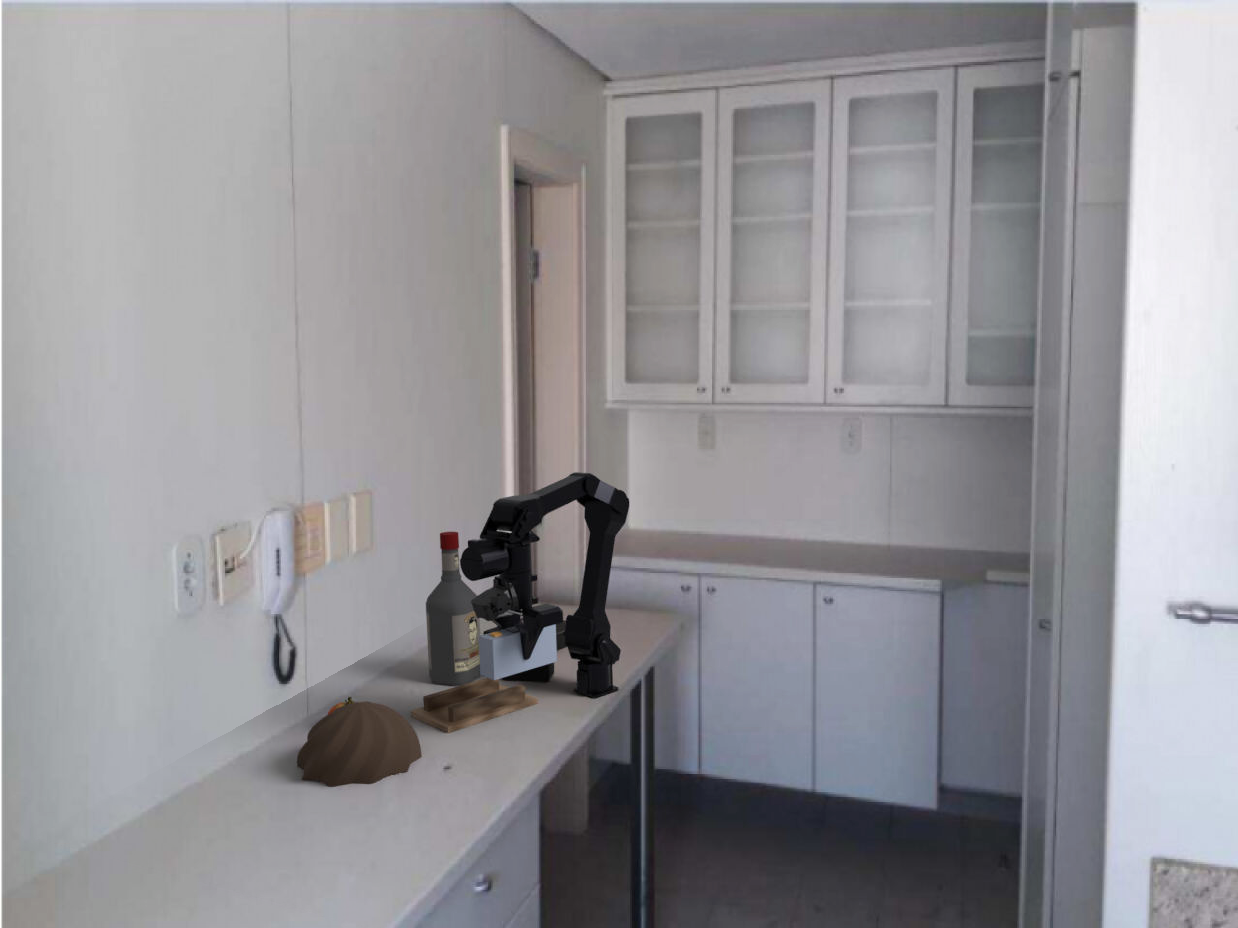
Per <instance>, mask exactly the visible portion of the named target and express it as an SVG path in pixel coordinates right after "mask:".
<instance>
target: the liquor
mask: <svg viewBox="0 0 1238 928" xmlns="http://www.w3.org/2000/svg"><path fill="white" fill-rule="evenodd" d="M459 537H460V536H459V532H458V531H443V532H440V533H439V544H440V545H439V547H440V550H441V551H440V552H441V553H440V554H441V577H440V581H439V582H438V584H437V586H435V587H434V589H433V590H432V591H431V592H430V594H429V595H428V597H427V599H426V602H425V614H426V615H425V617H426V637H427V638H426V639H427V653H428V655H427V656H428V659H427V661H428V675H429V678H430V679H431V682H432V683H434V684H435V685H443V686H452V687H457V686H460V685H464V684H467V683H471V682H474V681H476V680H477V679H479V678H480V677H481V674H480V652H479V636H481V628H480V627H481V625H480V624H481V623H480V622H481V621H480V618H477V617H476V614H475V612H474V609H473V606H472V604H471V600H472V599H474V598H475V597H477V596H478V595H477V594H476V592H474V591H473V590H472V589H471V588H470V586H468V585H467V583H465V582H464V581H463V580H462V575H461V572H460V570H461V569H460V558H459V557H460V555H459V548H460V543H459V542H460V541H459V539H460V538H459Z"/></svg>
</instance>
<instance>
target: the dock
mask: <svg viewBox="0 0 1238 928" xmlns="http://www.w3.org/2000/svg"><path fill="white" fill-rule="evenodd" d="M525 688H526V687H525V685H521V684H518V685H514V686H510V687H509V686H505V685H503V684H500V679H497V680H492V679H490V678H487V677H484V678H482V679H478V680H477V679H476V680H474V681H472V682H470V683H467V684H464V685H459V686H453V687H451V688H447V689H443V690H440V691H437V692H434V693H431V694H427V695H424V696H423V699H422V701H423V707H419V708H416V709H412V710H410V717H412V718H414V719H416V720H419V721H421V722H422V723H426V724H427V725H430V726H432V727H434V728H436V729H439V730H441V731H443V732H445V733H447V734H448V733H449V734H450V733H452V732H456V731H458V730H461V729H465V728H467V727H470V726H473V725H476V724H480V723H483V722H486V721H488V720H492V719H495V718H498V717H500V716H503V715H508V714H509V712H510V713H513V712H516V711H519V710H522V709H526V708H528V707H530V706H531V707H532V706H534V705H537V704H538V703H539V699H538V697H537V696H533V695H531V694H527V693H525V692H526V691H525ZM512 711H513V712H512ZM497 716H498V717H497Z"/></svg>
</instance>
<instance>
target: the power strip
mask: <svg viewBox="0 0 1238 928" xmlns="http://www.w3.org/2000/svg"><path fill="white" fill-rule="evenodd" d="M479 652H480V674H481V675H480V677H481V676H482V677H484V678H490V679H492V680H497V679H499V680H501V679H502V678H503V677H507V676H510V675H513V674H517V673H520V672H523V671H527V670H530V669H533V668H537V667H540V666H543V665H546V664H550V663H553V662H554V663H556V662H558V656H557V655H558V653H557V652H558V651H557V647H556V624H555V625H551V626H548V627H544V629H543V631H542V632H541V634H540V636H539V638H538V641H537V643H536V645H535V648H534V650H533V652H532V654H531V657H530V659H527V660H524V658H523V653H522V644H521V635H520V631H519V630H518V629H517V628H516V627H511V628H507V629H504V630H500V631H496V632H492V633H488V634H484V635H483V634H482V635H481V634H480V636H479Z"/></svg>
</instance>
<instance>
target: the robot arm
mask: <svg viewBox="0 0 1238 928" xmlns="http://www.w3.org/2000/svg"><path fill="white" fill-rule="evenodd" d="M574 501H576V502H577V503H578V504H580V505H581V506H582V507H583V508H584V513H583V514H584V518H583V519H584V522H585V523H586V526H587V529H588V532H589V534H588V535H589V536H588V537H589V538H588V542H587V543H588V544H587V549H586V550H587V551H586V558H585V565H584V571H583V579H582V585H581V591H580V599H579V605H578V607H577V609H576V610H575V611H574V613H573V615H572V614H568V615H567V616H566V618H565V621H566V628H565V631H564V634H563V636H565V645H566V646H567V647H566V648H567V650H568V653H569V657H570V659H571V660H577V670H576V686H575V687H573V689H572V691H573V692H576V693H579V694H582V695H584V696H588V697H591V698H593V699H595V698H598V697H602V696H604V695H608V694H610V693H614V692H617V691H619V690H620V689H619V686H616V685H614V684H613V683H614V682H613V680H614V676H613V673H614V672H613V671H614V670H613V665H615V664H616V662H619V661H620V657H621V651H622V650H621V648H620V647H619V646H618V645H617V644H616V643H615V642H614V641H613V640H612V638H611V627H612V626H611V624H610V621H609V617H608V616H607V612H606V603H607V597H608V591H609V583H610V577H611V568H612V561H613V556H614V547H615V542H616V537H617V535H618V533H619V532H620V531H621V529H622V528H623V527H624V525H625V524H626V521H627V517H628V513H629V509H630V499H629V497H628V495H627V494H626V492H625V491H623V490H621V489H618V488H616V486H613V485H611V484H609V483H607V482H605V481H603V480H601V479H600V478H598V476H596V475H594V474H593V473H590V472H579V471H578V472H577V471H575V472H572V473H570V474H569V475H567V476H566V477H564V478H562V479H559V480H558V481H555V482H553V483H551V484H549V485H546V486H544V487H542V488H540V489H537V490H535V491H534V492H531V493H527V494H520V495H511V496H506V497H505V496H504V497H501V498H498V499H496V500H495V501H494V503H493V504H492V509H491V511H490V513H489V515H488V517H487V520H486V522H485V524H484V527H483V528H482V530H481V532H480V534H479V539H468V540H467V548H465V549H464V550H462V553H461V557H460V558H459V567H460V570H461V572H462V574H463V576H465V578H466V579H467V580H468V581H471V582H475V581H481V580H483V579H488V578H492V577H494V578H493V580H492V582H493V584H492V587H490V588H488V589H486V590H484V591H482V592H481V593H480V594H479V595H477V597H475V598H474V599H472V600H471V604H472V606H473V609H474V612H475V614H476V617H477V618H479V619H483V620H485V621H487V622H492V623H493V624H495V625H496V627H498V629H499V631H500V630H504V629H507V628H511V627H516V628H517V629H518V630H519V631H520V635H521V644H522V653H523V658H524V660H527V659H530V657H531V654H532V652H533V650H534V648H535V645H536V643H537V641H538V638H539V636H540V634H541V632H542V631H543V629H544V627H548V626H551V625H555V624H559V623H563V620H564V610H563V609H562V608H561V607H560V606H558V605H554V604H550V603H543V604H539V597H536V596H534V595H533V594H534V590H533V589H534V588H533V582H537V581H538V574H535V573H533V566H532V565H533V563H532V562H533V561H532V543H536V542H539V541H540V539H541V537H540V536H539V535H537V534H536V533H535V532H534V531H533V530H534V529H535V528H537V526H539V525H541V523H542V521H543V519H544V517H545V516H547V515H548V514H549V513H551V512H554V511H556V510H558V509H560V508H562V507H564V506H566V505H568V504H570V503H572V502H574ZM536 604H537V605H536ZM533 605H534V606H533ZM535 605H536V606H535ZM521 618H523V619H522V623H520V619H521Z"/></svg>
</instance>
